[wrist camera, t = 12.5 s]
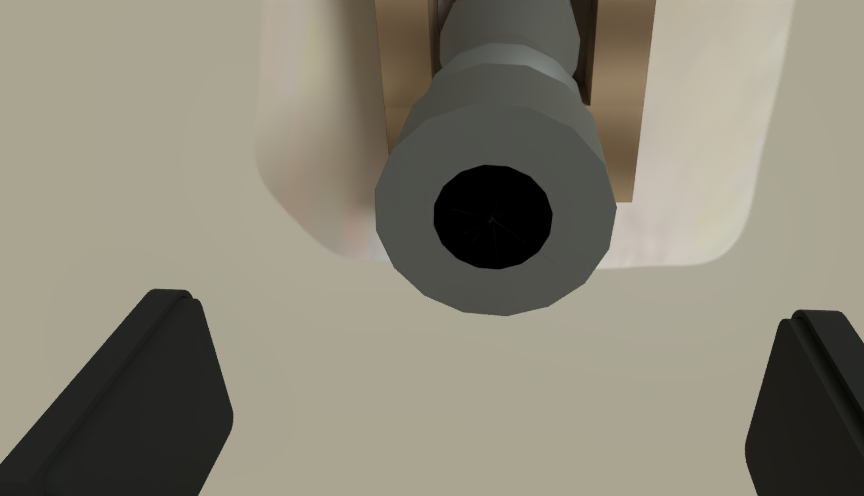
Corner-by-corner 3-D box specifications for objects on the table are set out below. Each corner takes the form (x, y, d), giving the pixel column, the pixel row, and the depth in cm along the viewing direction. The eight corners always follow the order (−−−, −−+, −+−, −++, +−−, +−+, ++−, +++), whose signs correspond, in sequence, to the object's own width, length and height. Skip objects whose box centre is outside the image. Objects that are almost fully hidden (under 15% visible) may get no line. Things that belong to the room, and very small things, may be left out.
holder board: (373, -196, 32) (355, -201, 29) (665, -217, 30) (683, -226, 27) (403, 172, 43) (393, 199, 39) (623, 173, 41) (632, 202, 37)
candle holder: (492, 80, 39) (450, 356, 18) (437, -14, 36) (311, 173, 15) (588, 25, 36) (672, 265, 15) (535, -80, 34) (548, 33, 13)
